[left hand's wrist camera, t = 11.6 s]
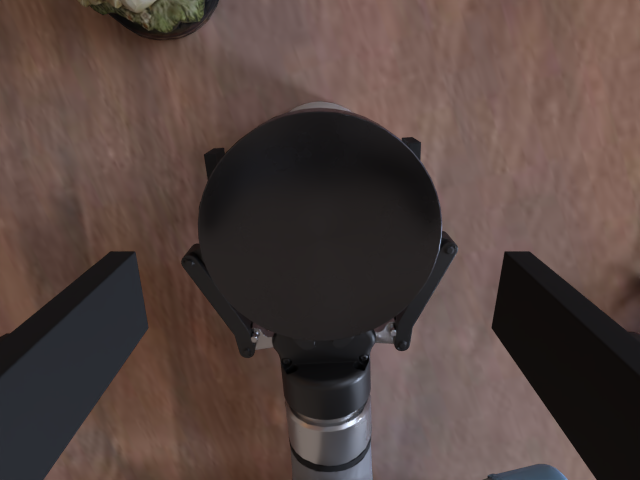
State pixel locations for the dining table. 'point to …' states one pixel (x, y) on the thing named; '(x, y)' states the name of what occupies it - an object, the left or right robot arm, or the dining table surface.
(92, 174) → the dining table surface
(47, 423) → the left robot arm
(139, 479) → the dining table surface
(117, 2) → the figurine
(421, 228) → the lid
